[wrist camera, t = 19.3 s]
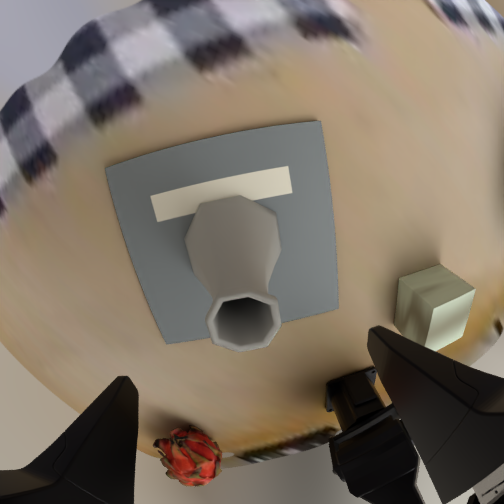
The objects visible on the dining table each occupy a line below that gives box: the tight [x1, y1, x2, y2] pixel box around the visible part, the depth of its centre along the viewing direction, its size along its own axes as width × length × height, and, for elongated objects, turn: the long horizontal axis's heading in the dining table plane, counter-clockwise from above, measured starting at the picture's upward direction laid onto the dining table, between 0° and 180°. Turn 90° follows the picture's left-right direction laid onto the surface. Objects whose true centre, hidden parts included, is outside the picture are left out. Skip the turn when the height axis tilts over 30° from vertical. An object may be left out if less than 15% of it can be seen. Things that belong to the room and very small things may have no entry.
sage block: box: [394, 264, 475, 351], centre depth 22 cm, size 6×6×6 cm
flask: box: [184, 195, 282, 352], centre depth 16 cm, size 7×7×10 cm
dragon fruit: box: [153, 425, 222, 486], centre depth 27 cm, size 8×8×12 cm
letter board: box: [105, 121, 339, 344], centre depth 21 cm, size 16×16×1 cm
